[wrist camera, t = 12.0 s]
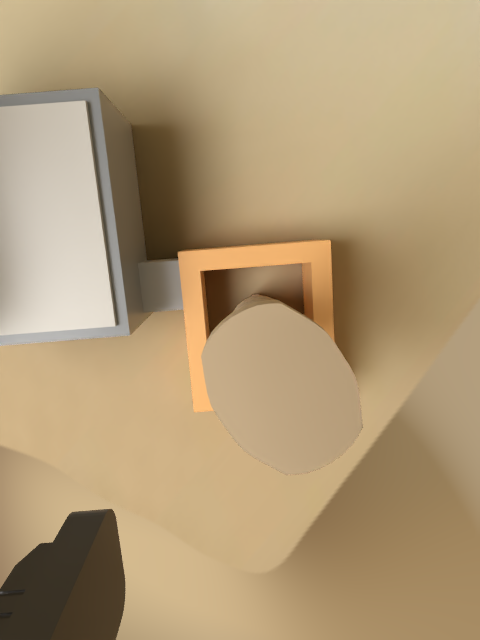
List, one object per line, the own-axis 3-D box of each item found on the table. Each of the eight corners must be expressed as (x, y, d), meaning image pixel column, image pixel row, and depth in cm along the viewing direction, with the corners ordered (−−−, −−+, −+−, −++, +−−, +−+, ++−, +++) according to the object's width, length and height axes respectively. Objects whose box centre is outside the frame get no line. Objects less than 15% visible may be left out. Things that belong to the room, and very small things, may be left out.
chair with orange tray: (-41, 137, 27) (-467, -15, 11) (313, 110, 27) (442, -81, 11) (10, 407, 31) (-251, 612, 14) (324, 382, 31) (435, 554, 14)
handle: (260, 258, 29) (292, 276, 14) (311, 335, 30) (389, 427, 15) (201, 298, 30) (173, 356, 15) (253, 373, 31) (275, 497, 16)
